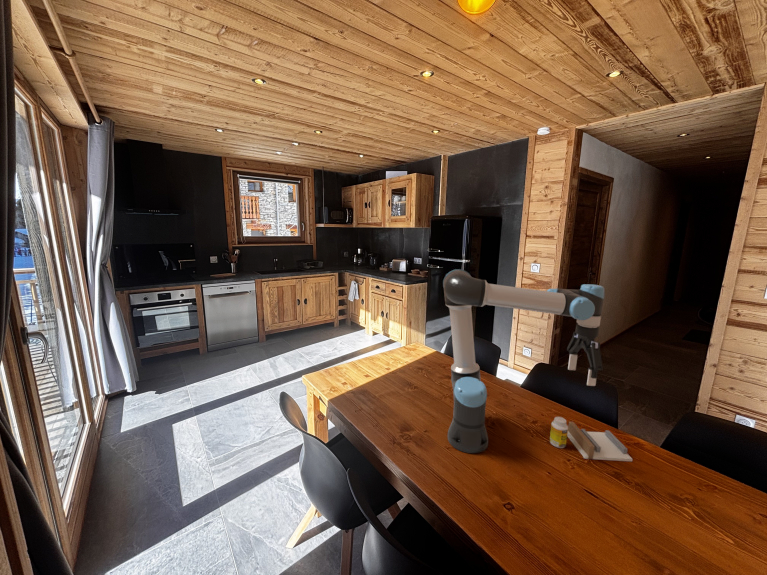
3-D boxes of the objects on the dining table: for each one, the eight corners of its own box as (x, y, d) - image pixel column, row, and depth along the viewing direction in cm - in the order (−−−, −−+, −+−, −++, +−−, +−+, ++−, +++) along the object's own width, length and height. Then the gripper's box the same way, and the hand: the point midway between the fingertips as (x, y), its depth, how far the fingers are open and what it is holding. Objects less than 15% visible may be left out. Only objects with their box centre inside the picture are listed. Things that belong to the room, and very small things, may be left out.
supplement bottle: (561, 450, 117) (564, 425, 115) (546, 442, 122) (549, 418, 120) (568, 445, 120) (571, 420, 118) (554, 437, 125) (556, 413, 123)
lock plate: (584, 458, 113) (586, 446, 112) (564, 432, 128) (565, 421, 127) (632, 461, 112) (634, 448, 111) (606, 434, 126) (607, 423, 126)
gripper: (620, 335, 108) (611, 393, 112) (579, 316, 133) (573, 364, 137) (597, 335, 109) (589, 392, 112) (561, 316, 133) (555, 363, 137)
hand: (580, 377), depth 124 cm, fingers open, 13 cm apart
